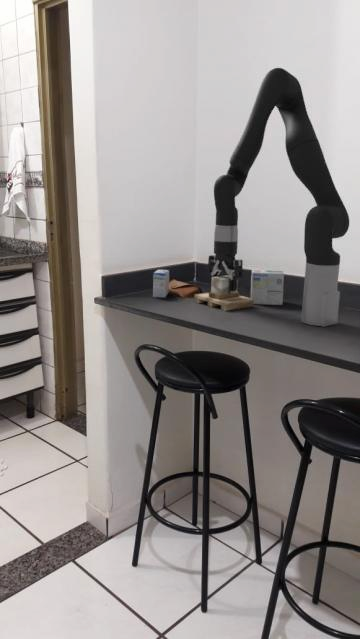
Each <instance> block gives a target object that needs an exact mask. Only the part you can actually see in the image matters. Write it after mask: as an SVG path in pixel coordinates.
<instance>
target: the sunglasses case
mask: <svg viewBox="0 0 360 639" xmlns="http://www.w3.org/2000/svg"><path fill="white" fill-rule="evenodd" d="M202 293H203V290H202V288H201V287H200V286H198V285H197V284H189V283H188V282H183V281H178V280H176V279H174V278H173V279H172V280H170V281H169V293H168V294H170V295H173V296H176V297H180V298H182V299H186V298H194V295H195V294H202Z"/></svg>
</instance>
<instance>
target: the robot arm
mask: <svg viewBox="0 0 360 639" xmlns="http://www.w3.org/2000/svg"><path fill="white" fill-rule="evenodd" d="M259 86H260V87H259V89H258V92H257V94H256V97H255V101H254V104H253V106H252V109H251V112H250V115H249V117H248V120H247V123H246V126H245V128H244V130H243V132H242V135H241V137H240V139H239V140H238V143H237V144H236V146H235V148H234V150H233V152H232V155H231V156H230V158H229V167H228V170H227V172H226V174H223V175H220V176H219V177H218V178H216V180H215V182H214V185H213V198H214V205H215V211H216V212H215V226H214V235H213V237H214V238H213V254H211V255H209V256H208V262H207V273H208V274H210V275H211V278H212V277H218V276H220V273H221V272H222V271H223V272H226V274H227V275H228V276H229V277H230V279H231V280H230V291H232V292H233V291H236V289H237V290H238V284H237V280H240V279H243V271H244V270H243V259H236V255H237V254H238V239H239V231H238V230H239V229H238V226H239V225H238V222H239V211H238V208H237V207H236V197H238V196H239V195H240V193H241V192H242V190H243V188H244V186H245V183H246V180H247V178H248V175H249V172H250V170H251V168H252V167H253V165H254V163H255V161H256V159H257V157H258V155H259V154H260V151H261V149H262V146H263V143H264V137H265V133H266V132H265V131H266V127H267V124H268V120H269V119H270V116H271V115H272V112H273V111H274V109H275V107H276V108H277V111H279V114H280V116H281V119H282V122H283V125H284V128H285V141H284V142H285V150H286V155H287V157H288V161H289V164H290V166H291V169H292V171H293V173H294V175H295V176H296V177H297V178H298V180H299V181H300V182H301V183H302V184H303V186H304V187H305V188H306V189H307V190H308V191H309V193H310V194H311V196H312V197H313V199H314V202H315V205H316V206H313V207H312V208H311V209H310V210H309V211H308V212H307V214H306V216H305V222H304V236H303V237H304V238H303V239H304V240H303V250H304V254H305V259H306V260H305V268H304V269H305V270H304V271H305V272H304V282H303V294H302V295H303V296H302V309H301V319H300V320H301V322H302V323H304V324H307V325H308V326H309V325H310V326H318V327H323V328H325V327H328V326H329V327H330V326H333V325H337V324H338V316H339V306H340V299H341V297H340V296H341V292H340V291H339V290H338V285H339V284H338V283H339V273H340V263H341V255H340V253H338V252H337V251H335V250H334V247H333V239H340V238H342V237H344V236H345V235H346V234H347V232H348V231H349V228H350V216H349V213H348V211H347V208H346V206H345V204H344V201H343V200H342V198H341V196H340V194H339V192H338V190H337V188H336V186H335V183H334V180H333V178H332V175H331V172H330V170H329V166H328V164H327V162H326V160H325V155H324V151H323V149H322V148H321V143H320V141H319V138H318V136H317V133H316V132H315V129H314V126H313V124H312V122H311V119H310V117H309V113H308V111H307V107H306V103H305V99H304V94H303V89H302V87H301V83H300V81H299V80H298V78H297V77H296V76H294V75H293V74H291V73H290V72H289V71H288V70H286V69H284V68H282V67H275V68H273V69H271V70H269V71H268V72H267V73H266V75H265V76H264V77H263V79H262V82H261V83H260V85H259Z"/></svg>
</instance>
